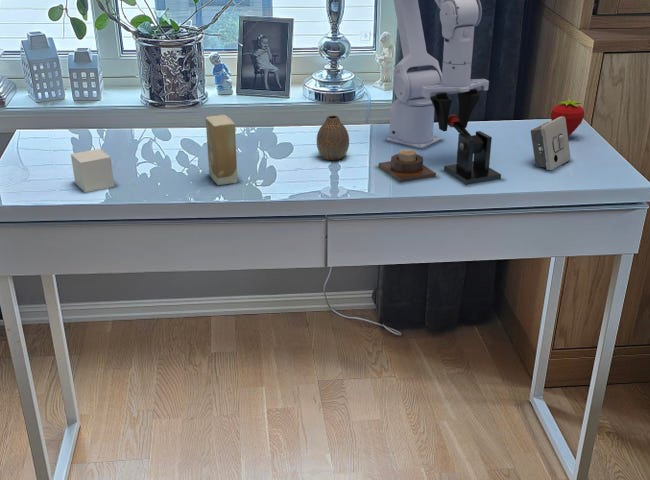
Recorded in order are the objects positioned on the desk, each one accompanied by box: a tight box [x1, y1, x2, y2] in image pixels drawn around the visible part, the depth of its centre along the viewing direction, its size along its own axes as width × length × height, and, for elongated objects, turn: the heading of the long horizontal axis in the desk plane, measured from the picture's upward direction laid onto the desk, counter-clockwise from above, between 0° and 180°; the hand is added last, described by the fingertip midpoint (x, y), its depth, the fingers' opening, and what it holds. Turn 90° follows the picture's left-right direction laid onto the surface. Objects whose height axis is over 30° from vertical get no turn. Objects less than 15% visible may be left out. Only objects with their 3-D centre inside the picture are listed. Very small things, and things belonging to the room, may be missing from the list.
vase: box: [316, 114, 350, 161], centre depth 190 cm, size 7×7×9 cm
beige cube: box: [70, 148, 115, 193], centre depth 177 cm, size 6×6×6 cm
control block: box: [378, 153, 437, 183], centre depth 184 cm, size 10×8×3 cm
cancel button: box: [397, 148, 417, 162], centre depth 183 cm, size 4×4×2 cm
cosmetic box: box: [205, 114, 239, 186], centre depth 178 cm, size 6×4×12 cm
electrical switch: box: [530, 117, 571, 171], centre depth 187 cm, size 9×5×9 cm, turn 141°
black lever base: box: [443, 130, 502, 186], centre depth 181 cm, size 9×8×8 cm
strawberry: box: [549, 92, 585, 138], centre depth 201 cm, size 6×8×10 cm
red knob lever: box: [448, 114, 484, 155], centre depth 182 cm, size 12×3×3 cm, turn 24°
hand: (452, 128), depth 186 cm, fingers open, 4 cm apart
